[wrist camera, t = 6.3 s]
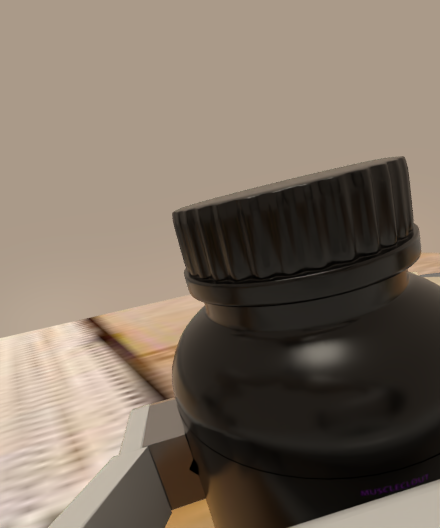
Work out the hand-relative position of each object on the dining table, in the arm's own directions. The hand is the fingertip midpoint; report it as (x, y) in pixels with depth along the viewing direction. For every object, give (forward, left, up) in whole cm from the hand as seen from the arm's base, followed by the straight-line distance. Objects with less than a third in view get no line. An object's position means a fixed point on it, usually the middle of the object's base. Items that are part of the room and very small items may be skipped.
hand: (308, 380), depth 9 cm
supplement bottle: (0, -1, -7) cm, 7 cm away
